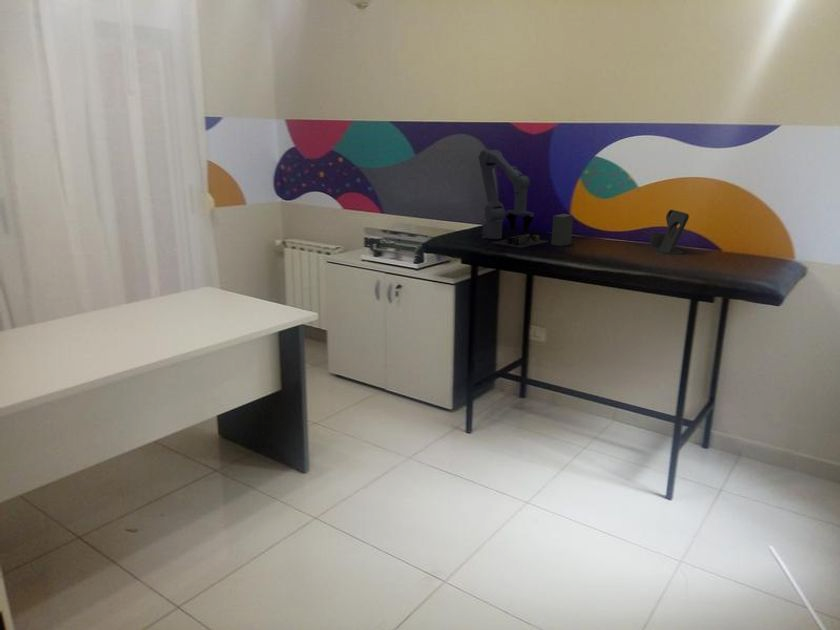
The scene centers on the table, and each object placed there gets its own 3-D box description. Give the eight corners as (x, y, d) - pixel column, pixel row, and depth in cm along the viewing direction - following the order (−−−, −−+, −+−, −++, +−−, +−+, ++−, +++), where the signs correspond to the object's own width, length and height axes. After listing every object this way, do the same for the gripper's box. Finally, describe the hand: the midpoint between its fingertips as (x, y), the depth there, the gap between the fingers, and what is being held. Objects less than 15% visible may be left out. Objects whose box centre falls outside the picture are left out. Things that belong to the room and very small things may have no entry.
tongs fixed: (506, 244, 290) (506, 237, 289) (526, 240, 301) (526, 233, 301) (510, 245, 289) (511, 238, 288) (530, 240, 300) (530, 234, 299)
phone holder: (647, 247, 290) (651, 209, 285) (667, 246, 291) (672, 209, 286) (664, 254, 273) (669, 214, 268) (686, 253, 274) (691, 213, 269)
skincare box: (561, 244, 296) (563, 213, 292) (571, 246, 292) (574, 214, 287) (550, 246, 291) (552, 214, 287) (560, 247, 286) (562, 216, 282)
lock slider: (531, 240, 300) (532, 235, 299) (535, 239, 302) (535, 234, 301) (535, 240, 298) (536, 236, 298) (539, 239, 300) (539, 235, 300)
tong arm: (514, 245, 287) (514, 239, 287) (525, 241, 298) (525, 235, 297) (516, 245, 287) (516, 239, 286) (527, 241, 297) (527, 235, 297)
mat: (490, 244, 295) (490, 242, 294) (519, 238, 311) (519, 236, 311) (520, 249, 283) (520, 247, 282) (549, 242, 299) (549, 241, 299)
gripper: (503, 201, 291) (502, 229, 295) (528, 203, 282) (526, 233, 286) (512, 200, 296) (510, 228, 300) (537, 202, 286) (535, 231, 290)
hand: (519, 230), depth 293 cm, fingers open, 7 cm apart
